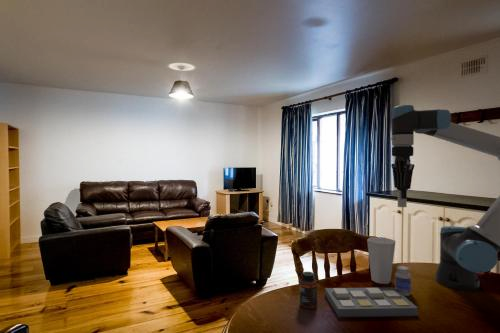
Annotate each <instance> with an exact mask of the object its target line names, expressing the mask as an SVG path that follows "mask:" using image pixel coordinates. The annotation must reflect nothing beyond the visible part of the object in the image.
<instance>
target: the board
mask: <svg viewBox="0 0 500 333" xmlns="http://www.w3.org/2000/svg"><path fill="white" fill-rule="evenodd" d="M333 288H334V287H333ZM333 288H332V287H328V288H327V287H325V288H324V292H325V293H324V294H325V298H326V299H327V300H328V302H329V304H330V306H331V308H332V309H333V311H334V312H335V314H336V315H337V317H338V318H355V317H356V318H362V317H363V318H364V317H366V318H367V317H417V316H419V308H418V306H416V305H415V304H414V303H413V302H412V301H410V300H409V299H408V298H407V296H403V295H402V294H401V293H400V292H399V291H397V290H396V289H395V286H394V287H392V286H391V287H378V288H379V289H380V290H381V291H382V290H394V291H395V292H397V293H398V294H399V295H400V298H387V297H386V296H385V295H384V294H383V298H369V296H368V295H367V294H366V288H367V287H344V288H345V289H346V290H347V291H348V293H349V291H362V292H363V293H364V294H365V295H366V298H352V297H351V295H350V294H349V298H344V299H336V298H335V297H334V295H333Z"/></svg>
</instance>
